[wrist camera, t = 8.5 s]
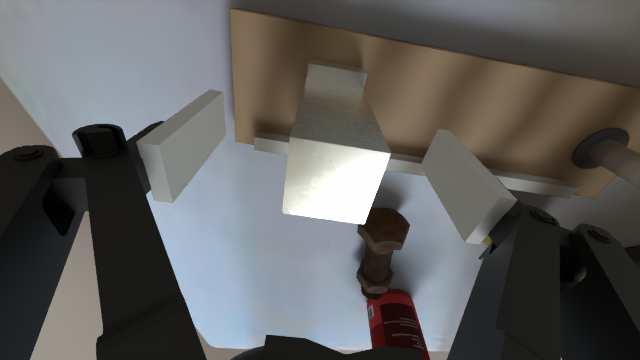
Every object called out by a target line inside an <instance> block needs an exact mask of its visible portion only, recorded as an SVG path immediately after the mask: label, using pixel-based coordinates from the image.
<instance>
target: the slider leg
mask: <svg viewBox="0 0 640 360" xmlns="http://www.w3.org/2000/svg"><path fill="white" fill-rule="evenodd" d="M366 78H367V72H366V71H365V69H364V68H362V67H356V66H351V65H346V64H340V63H335V62H330V61H324V60H319V59H314V58H310V59H309V63H308V70H307V77H306V82H305V85H304V89H303V92H302V96H301V99H300V103H299V107H298V110H297V114H296V117H295V121H294V124H293V128H292V131H291V135H290V141H289V150H288V160H287V170H286V180H285V190H284V200H283V209H282V213H286V214H293V215H300V216H308V217H315V218H322V219H330V220H337V221H344V222H352V223H359V224H364V223H365V220H366V218H367V215H368V213H369V210H370V207H371V205H372V202H373V200H374V197H375V194H376V192H377V189H378V187H379V184H380V181H381V179H382V176H383V174H384V171H385V169H386V166H387V163H388V161H389V158H390V156H391V151H390V149H389V147H388V145H387V142H386V140H385V138H384V135H383V133H382V131H381V128H380V126H379V124H378V122H377V119H376V117H375V115H374V112H373V110H372V108H371V105H370V103H369V101H368V98H367V96H366V94H365V92H364V85H365V82H366Z"/></svg>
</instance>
